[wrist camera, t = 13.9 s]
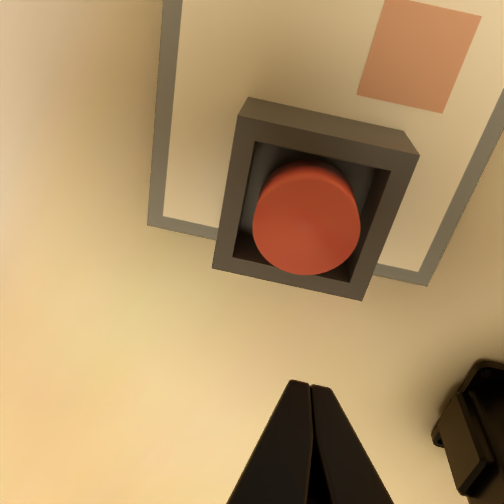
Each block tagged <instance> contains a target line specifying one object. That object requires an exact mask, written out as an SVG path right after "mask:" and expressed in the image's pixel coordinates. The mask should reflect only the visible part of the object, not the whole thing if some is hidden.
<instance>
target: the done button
mask: <svg viewBox="0 0 504 504" xmlns="http://www.w3.org/2000/svg"><path fill="white" fill-rule="evenodd" d="M252 228H253V237H254V241H255V244H256V246H257V248H258V250H259V251H260V253H261V254H262V255H263V256H264V258H265V259H266V260H267V261H268V262H270V263H271V264H272V265H274V266H275V267H277V268H279V269H281V270H283V271H286V272H289V273H292V274H297V275H315V274H320V273H324V272H327V271H329V270H332V269H334V268H336V267H337V266H339V265H340V264H342V263H343V262H344V261H345V260H346V259H347V258H348V257H349V256H350V255H351V254H352V252H353V251H354V249H355V247H356V245H357V243H358V240H359V236H360V218H359V214H358V209H357V205H356V200H355V196H354V192H353V189H352V186H351V184H350V182H349V181H348V179H347V178H346V176H345V175H344V174H343V173H342V172H341V171H339V170H338V169H337V168H335V167H334V166H332V165H330V164H328V163H326V162H323V161H319V160H313V159H302V160H296V161H292V162H289V163H286V164H284V165H282V166H280V167H279V168H277V169H276V170H275V171H273V172H272V173H271V174H270V175H269V177H268V178H267V179H266V180H265V182H264V184H263V186H262V188H261V190H260V194H259V197H258V202H257V206H256V210H255V214H254V218H253V225H252Z"/></svg>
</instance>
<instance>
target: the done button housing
mask: <svg viewBox="0 0 504 504" xmlns="http://www.w3.org/2000/svg"><path fill="white" fill-rule="evenodd" d="M419 157H420V154H419V153H418V151H417V150H416V148H415V147H414V145H413V144H412V142H411V141H410V139H409V138H408V136H407V135H406V133H405V132H404V131H402V130H398V129H393V128H389V127H384V126H379V125H375V124H370V123H366V122H361V121H357V120H352V119H348V118H343V117H339V116H334V115H330V114H325V113H320V112H316V111H311V110H307V109H302V108H298V107H293V106H289V105H284V104H280V103H275V102H270V101H266V100H261V99H257V98H252V97H248V98H247V99H246V101H245V103H244V105H243V106H242V108H241V110H240V112H239V113H238V115H237V121H236V127H235V133H234V139H233V145H232V151H231V157H230V162H229V168H228V174H227V180H226V186H225V192H224V198H223V204H222V210H221V216H220V222H219V228H218V234H217V240H216V246H215V252H214V258H213V263H212V268H213V269H217V270H222V271H226V272H231V273H236V274H240V275H245V276H249V277H254V278H258V279H263V280H267V281H272V282H277V283H281V284H286V285H290V286H295V287H299V288H304V289H309V290H313V291H318V292H322V293H327V294H331V295H336V296H340V297H345V298H350V299H354V300H359V301H362V300H363V297H364V295H365V292H366V290H367V287H368V285H369V282H370V280H371V277H372V275H373V272H374V270H375V267H376V265H377V262H378V260H379V257H380V255H381V252H382V250H383V247H384V245H385V242H386V240H387V237H388V235H389V232H390V230H391V227H392V225H393V222H394V220H395V217H396V215H397V212H398V210H399V207H400V205H401V202H402V200H403V197H404V195H405V192H406V190H407V187H408V185H409V182H410V180H411V177H412V175H413V172H414V170H415V167H416V165H417V162H418V160H419ZM302 159H313V160H319V161H323V162H326V163H328V164H330V165H332V166H334V167H335V168H337V169H338V170H339V171H341V172H342V173H343V174H344V175H345V176H346V178H347V179H348V181H349V182H350V184H351V186H352V189H353V192H354V196H355V200H356V205H357V209H358V214H359V218H360V236H359V240H358V243H357V245H356V247H355V249H354V251H353V252H352V254H351V255H350V256H349V257H348V258H347V259H346V260H345V261H344V262H343V263H342V264H340V265H339V266H337V267H336V268H334V269H332V270H329V271H327V272H324V273H320V274H315V275H297V274H292V273H289V272H286V271H283V270H281V269H279V268H277V267H275V266H274V265H272V264H271V263H270V262H268V261H267V260H266V259H265V258H264V256H263V255H262V254H261V253H260V251H259V250H258V248H257V246H256V244H255V241H254V237H253V228H252V225H253V218H254V214H255V210H256V206H257V202H258V197H259V194H260V190H261V188H262V186H263V184H264V182H265V180H266V179H267V178H268V177H269V175H270V174H271V173H272V172H273V171H275V170H276V169H277V168H279V167H280V166H282V165H284V164H286V163H289V162H292V161H296V160H302Z"/></svg>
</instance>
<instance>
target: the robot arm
mask: <svg viewBox="0 0 504 504" xmlns="http://www.w3.org/2000/svg"><path fill="white" fill-rule="evenodd" d="M486 370H487V371H486ZM483 371H485V372H483ZM431 437H432V441H433V444H434V445H435V446H438V447H442V448H445V452H446V455H447V458H448V462H449V465H450V468H451V472H452V475H453V479H454V482H455V485H456V489H457V490H458V492H459V494H460V495H462V496H466V497H467V499H468V502H469V504H504V365H502V364H498V363H493V362H489V361H482V362H479V363H477V364H476V365H475V366H474V367H473V369H472V370H471V372H470V374H469V375H468V377H467V378H466V380H465V381H464V383H463V385H462V386H461V388H460V389H459V391H458V393H457V394H455V396H454V397H453V399H452V400H451V402H450V404H449V405H448V407H447V408H446V410H445V412H444V413H443V415H442V416H441V418H440V419H439V421H438V423H437V426H436V428H435V429H434V431H433V432H432V434H431ZM226 504H394V503H393V501H392V499H391V497H390V495H389V493H388V492H387V490H386V488H385V486H384V484H383V482H382V481H381V479H380V477H379V475H378V473H377V471H376V470H375V468H374V466H373V464H372V462H371V460H370V459H369V457H368V455H367V453H366V451H365V449H364V448H363V446H362V444H361V442H360V440H359V438H358V437H357V435H356V433H355V431H354V429H353V427H352V426H351V424H350V422H349V420H348V418H347V416H346V415H345V413H344V411H343V409H342V407H341V405H340V404H339V402H338V400H337V398H336V396H335V394H334V393H333V391H332V390H331V389H330V388H328V387H324V386H319V385H315V384H312V385H309V384H308V383H306V382H301V381H296V380H290V381H289V382H288V384H287V386H286V388H285V390H284V392H283V393H282V395H281V397H280V399H279V401H278V403H277V405H276V407H275V409H274V411H273V413H272V415H271V417H270V419H269V421H268V423H267V425H266V427H265V429H264V431H263V433H262V435H261V437H260V439H259V441H258V443H257V445H256V446H255V448H254V450H253V452H252V454H251V456H250V458H249V460H248V462H247V464H246V466H245V468H244V470H243V472H242V474H241V476H240V478H239V480H238V482H237V484H236V486H235V488H234V490H233V492H232V494H231V496H230V497H229V499H228V501H227V503H226Z"/></svg>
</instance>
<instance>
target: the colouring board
mask: <svg viewBox="0 0 504 504" xmlns="http://www.w3.org/2000/svg"><path fill="white" fill-rule="evenodd" d="M248 97H252V98H257V99H261V100H266V101H270V102H275V103H280V104H284V105H289V106H293V107H298V108H302V109H307V110H311V111H316V112H320V113H325V114H330V115H334V116H339V117H343V118H348V119H352V120H357V121H361V122H366V123H370V124H375V125H379V126H384V127H389V128H393V129H398V130H402V131H404V132H405V133H406V135H407V136H408V138H409V139H410V141H411V142H412V144H413V145H414V147H415V148H416V150H417V151H418V153H419V154H420V157H419V160H418V162H417V165H416V167H415V170H414V172H413V175H412V177H411V180H410V182H409V185H408V187H407V190H406V192H405V195H404V197H403V200H402V202H401V205H400V207H399V210H398V212H397V215H396V217H395V220H394V222H393V225H392V227H391V230H390V232H389V235H388V237H387V240H386V242H385V245H384V247H383V250H382V252H381V255H380V257H379V260H378V262H377V265H376V267H375V270H374V272H373V275H376V276H380V277H385V278H390V279H394V280H399V281H403V282H408V283H412V284H417V285H421V286H426V287H427V286H428V284H429V281H430V279H431V277H432V275H433V273H434V271H435V269H436V267H437V265H438V263H439V261H440V259H441V257H442V255H443V253H444V251H445V249H446V247H447V244H448V242H449V240H450V238H451V236H452V234H453V232H454V230H455V228H456V226H457V224H458V222H459V220H460V218H461V216H462V214H463V212H464V210H465V208H466V205H467V203H468V201H469V199H470V197H471V195H472V193H473V191H474V189H475V187H476V185H477V183H478V181H479V179H480V177H481V175H482V173H483V171H484V169H485V166H486V164H487V162H488V160H489V158H490V156H491V154H492V152H493V150H494V148H495V146H496V144H497V142H498V140H499V138H500V136H501V134H502V132H503V129H504V0H163V13H162V27H161V40H160V54H159V68H158V82H157V96H156V110H155V123H154V137H153V151H152V165H151V179H150V193H149V206H148V220H147V225H148V226H153V227H157V228H162V229H166V230H171V231H175V232H180V233H185V234H189V235H194V236H198V237H203V238H207V239H212V240H217V234H218V228H219V222H220V216H221V210H222V204H223V198H224V192H225V186H226V180H227V174H228V168H229V162H230V157H231V151H232V145H233V139H234V133H235V127H236V121H237V115H238V113H239V112H240V110H241V108H242V106H243V105H244V103H245V101H246V99H247V98H248Z"/></svg>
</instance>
